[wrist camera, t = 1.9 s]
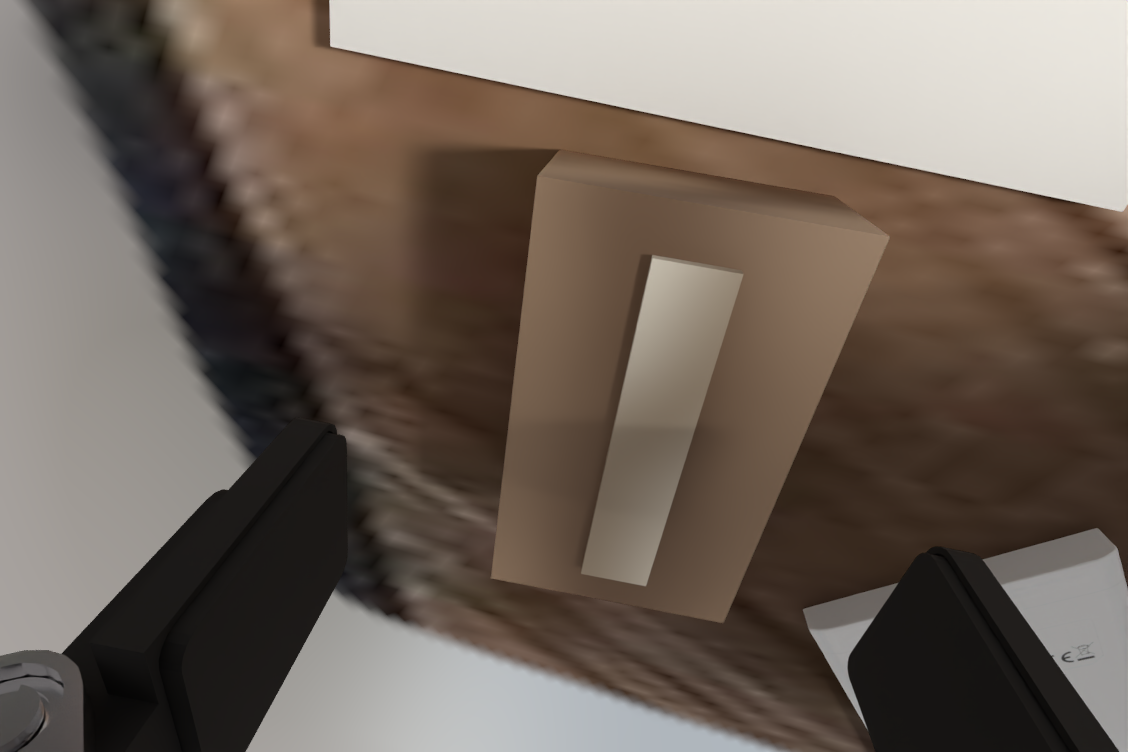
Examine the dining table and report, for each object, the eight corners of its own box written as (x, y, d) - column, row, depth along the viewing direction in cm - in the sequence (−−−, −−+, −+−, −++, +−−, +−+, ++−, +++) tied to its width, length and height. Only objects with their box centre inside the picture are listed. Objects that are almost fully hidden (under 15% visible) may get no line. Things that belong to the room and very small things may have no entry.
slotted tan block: (829, 193, 13) (894, 239, 9) (708, 525, 18) (724, 630, 14) (561, 147, 13) (535, 178, 10) (516, 488, 18) (488, 584, 15)
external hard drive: (910, 788, 23) (797, 594, 19) (1152, 751, 21) (1086, 513, 16) (928, 836, 22) (810, 638, 17) (1189, 803, 19) (1129, 557, 15)
